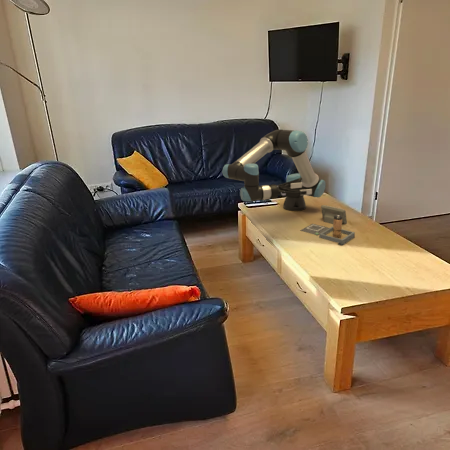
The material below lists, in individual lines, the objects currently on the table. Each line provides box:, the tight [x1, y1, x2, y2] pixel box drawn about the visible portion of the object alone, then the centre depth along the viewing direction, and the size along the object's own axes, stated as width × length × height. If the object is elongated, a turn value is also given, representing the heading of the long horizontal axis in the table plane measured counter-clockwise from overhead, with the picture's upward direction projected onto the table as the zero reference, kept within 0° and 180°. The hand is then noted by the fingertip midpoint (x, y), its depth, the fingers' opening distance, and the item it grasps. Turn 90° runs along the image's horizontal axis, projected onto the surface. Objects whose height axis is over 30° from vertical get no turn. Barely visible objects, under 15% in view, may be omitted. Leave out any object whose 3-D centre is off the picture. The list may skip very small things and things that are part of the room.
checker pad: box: [299, 223, 330, 236], centre depth 231 cm, size 14×12×2 cm
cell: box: [332, 215, 343, 239], centre depth 218 cm, size 4×4×13 cm
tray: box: [318, 226, 356, 246], centre depth 220 cm, size 14×14×3 cm
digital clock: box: [320, 204, 348, 225], centre depth 240 cm, size 16×9×11 cm, turn 36°
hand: (306, 188), depth 216 cm, fingers open, 13 cm apart
